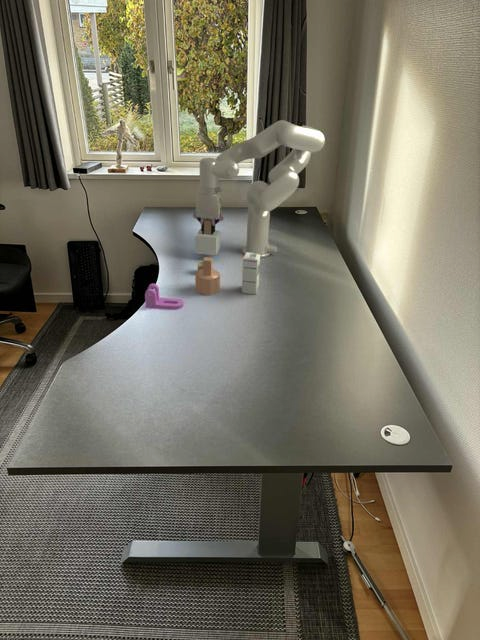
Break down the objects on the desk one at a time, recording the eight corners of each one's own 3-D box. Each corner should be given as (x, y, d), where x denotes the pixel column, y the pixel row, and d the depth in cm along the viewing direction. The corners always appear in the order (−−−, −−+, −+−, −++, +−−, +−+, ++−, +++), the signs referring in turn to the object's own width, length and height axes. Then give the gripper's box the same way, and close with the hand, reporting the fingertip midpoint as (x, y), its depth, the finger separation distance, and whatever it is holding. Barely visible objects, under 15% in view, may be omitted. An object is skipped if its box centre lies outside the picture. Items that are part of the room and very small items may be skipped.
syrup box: (256, 294, 184) (258, 259, 177) (241, 292, 185) (242, 257, 178) (258, 288, 189) (261, 253, 182) (243, 286, 190) (245, 251, 183)
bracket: (145, 307, 173) (144, 290, 170) (149, 300, 178) (148, 283, 174) (182, 310, 173) (181, 292, 169) (184, 302, 177) (184, 285, 174)
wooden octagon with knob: (221, 285, 190) (222, 255, 183) (217, 296, 182) (217, 265, 176) (198, 283, 191) (198, 253, 184) (193, 293, 183) (193, 262, 177)
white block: (219, 247, 214) (220, 217, 207) (216, 255, 207) (216, 224, 200) (200, 245, 215) (200, 215, 208) (195, 253, 208) (195, 222, 201)
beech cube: (207, 270, 201) (207, 262, 199) (207, 275, 198) (207, 266, 195) (197, 271, 200) (197, 262, 198) (198, 275, 197) (197, 266, 195)
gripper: (230, 189, 200) (228, 232, 209) (191, 186, 202) (191, 228, 211) (227, 194, 193) (225, 238, 203) (186, 191, 195) (187, 234, 205)
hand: (208, 232), depth 207 cm, fingers closed on white block, 3 cm apart
